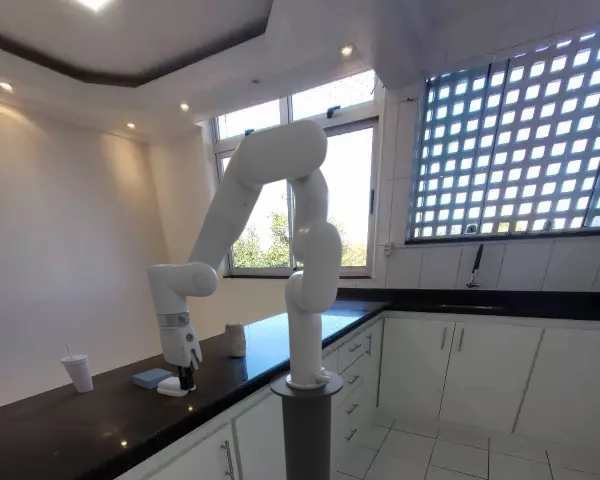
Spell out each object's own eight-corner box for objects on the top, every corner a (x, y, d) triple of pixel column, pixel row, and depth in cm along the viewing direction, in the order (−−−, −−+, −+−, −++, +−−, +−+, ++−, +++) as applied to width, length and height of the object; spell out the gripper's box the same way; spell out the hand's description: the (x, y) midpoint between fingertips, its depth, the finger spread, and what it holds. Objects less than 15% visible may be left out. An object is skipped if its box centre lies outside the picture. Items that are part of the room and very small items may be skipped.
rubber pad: (174, 380, 94) (172, 372, 92) (149, 389, 88) (147, 381, 87) (158, 375, 98) (156, 367, 97) (134, 383, 92) (132, 376, 91)
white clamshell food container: (155, 392, 86) (153, 382, 84) (173, 383, 91) (171, 374, 90) (181, 397, 82) (178, 387, 81) (197, 387, 88) (196, 378, 87)
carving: (251, 354, 115) (247, 321, 109) (237, 360, 109) (233, 326, 104) (238, 352, 118) (234, 320, 112) (224, 357, 112) (219, 324, 107)
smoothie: (66, 394, 86) (47, 345, 80) (84, 385, 92) (67, 338, 86) (87, 395, 85) (69, 345, 79) (103, 385, 91) (88, 339, 85)
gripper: (207, 319, 74) (217, 389, 82) (168, 314, 82) (182, 378, 90) (180, 326, 68) (195, 400, 77) (142, 319, 76) (158, 387, 84)
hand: (188, 388), depth 83 cm, fingers closed
